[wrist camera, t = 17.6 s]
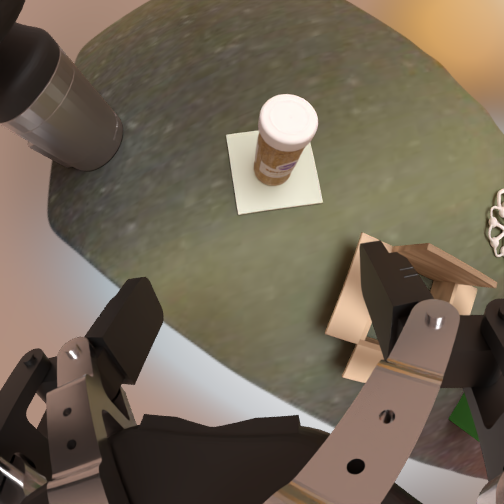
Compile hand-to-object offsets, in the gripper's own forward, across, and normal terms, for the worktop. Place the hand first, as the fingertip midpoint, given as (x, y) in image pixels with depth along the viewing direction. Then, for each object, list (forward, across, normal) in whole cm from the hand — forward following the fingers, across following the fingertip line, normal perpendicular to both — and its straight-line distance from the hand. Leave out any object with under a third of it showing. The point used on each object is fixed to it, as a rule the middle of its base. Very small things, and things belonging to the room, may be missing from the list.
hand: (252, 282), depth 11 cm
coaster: (+26, 0, -1) cm, 26 cm away
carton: (+19, +12, -21) cm, 30 cm away
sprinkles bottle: (+26, 0, -1) cm, 26 cm away
